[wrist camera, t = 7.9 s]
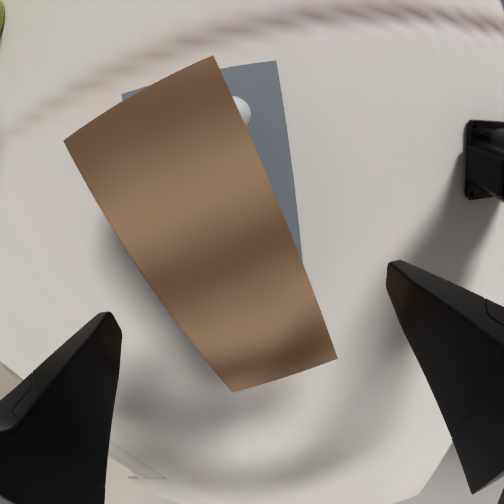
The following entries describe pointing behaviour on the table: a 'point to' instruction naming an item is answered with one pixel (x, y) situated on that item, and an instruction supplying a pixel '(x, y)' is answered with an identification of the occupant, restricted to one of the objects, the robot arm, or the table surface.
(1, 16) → the plant pot
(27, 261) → the table surface
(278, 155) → the peg stand
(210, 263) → the shelf board
